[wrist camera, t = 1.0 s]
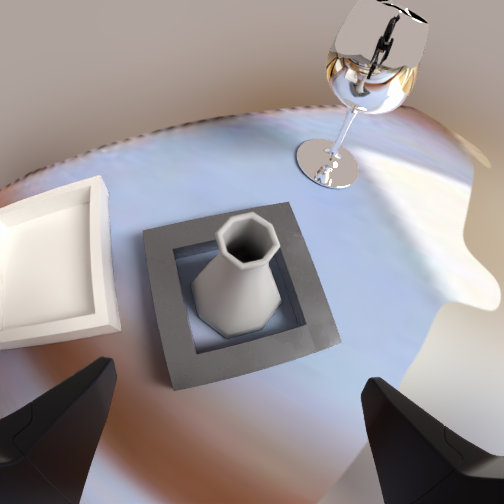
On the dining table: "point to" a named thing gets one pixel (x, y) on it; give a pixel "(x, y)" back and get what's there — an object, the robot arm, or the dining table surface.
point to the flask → (239, 278)
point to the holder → (249, 353)
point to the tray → (57, 267)
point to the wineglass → (366, 79)
